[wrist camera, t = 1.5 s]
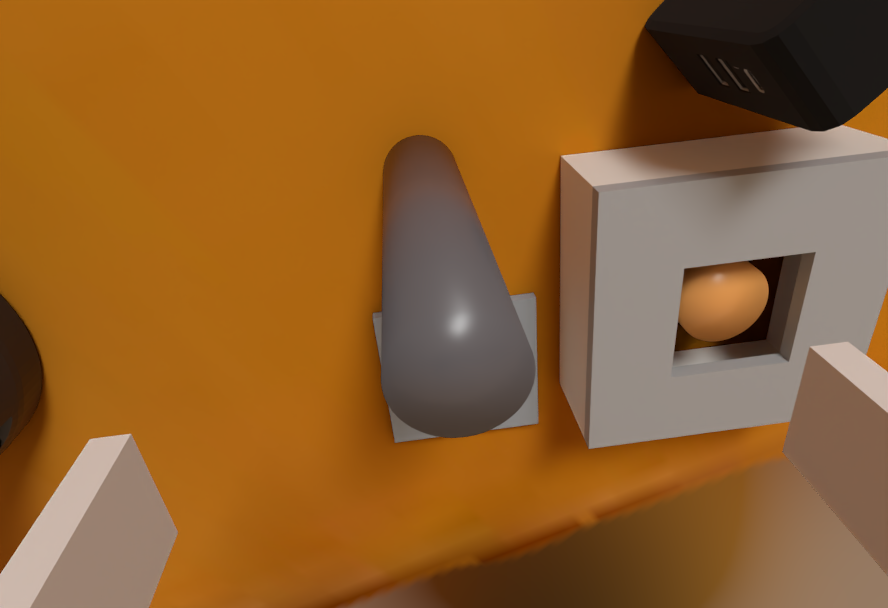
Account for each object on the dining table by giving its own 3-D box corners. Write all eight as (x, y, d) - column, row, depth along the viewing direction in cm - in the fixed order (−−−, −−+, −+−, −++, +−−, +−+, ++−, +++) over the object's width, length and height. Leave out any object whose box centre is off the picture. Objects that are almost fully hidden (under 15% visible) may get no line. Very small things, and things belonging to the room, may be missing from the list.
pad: (394, 436, 36) (395, 442, 36) (372, 313, 32) (372, 318, 31) (536, 417, 36) (538, 423, 36) (533, 292, 32) (536, 297, 31)
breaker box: (559, 382, 35) (588, 448, 30) (560, 155, 28) (598, 192, 23) (781, 353, 36) (846, 413, 31) (835, 123, 29) (931, 152, 24)
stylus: (388, 211, 29) (392, 446, 14) (378, 139, 27) (369, 322, 12) (459, 203, 29) (537, 427, 14) (453, 131, 27) (534, 301, 12)
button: (659, 326, 31) (675, 346, 29) (667, 252, 29) (685, 269, 27) (739, 316, 31) (759, 335, 29) (752, 241, 29) (776, 257, 27)
